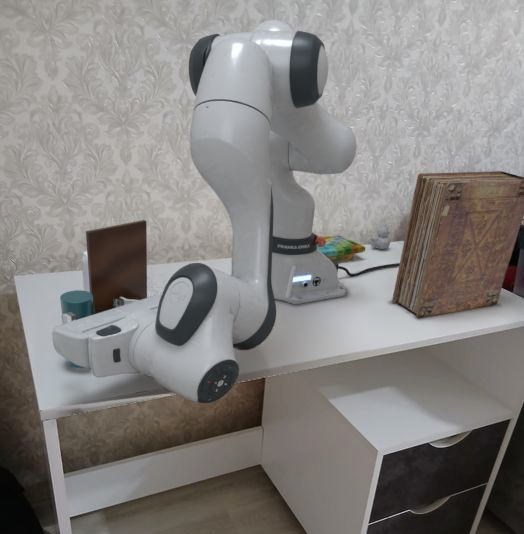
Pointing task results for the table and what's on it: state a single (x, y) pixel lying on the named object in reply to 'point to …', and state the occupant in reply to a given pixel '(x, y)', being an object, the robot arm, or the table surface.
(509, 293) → the table surface
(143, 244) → the lid
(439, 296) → the book
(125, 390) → the table surface
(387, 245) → the grey figurine
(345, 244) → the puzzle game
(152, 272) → the table surface
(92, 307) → the canister
